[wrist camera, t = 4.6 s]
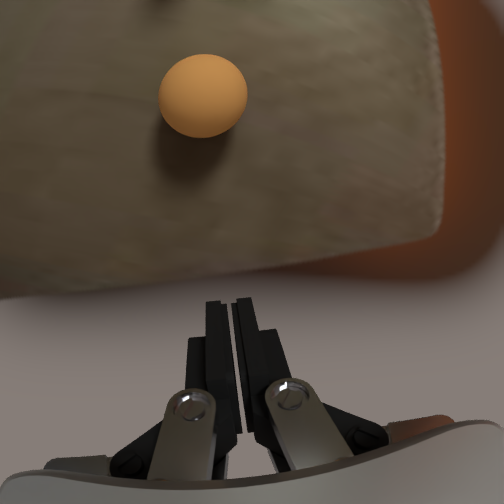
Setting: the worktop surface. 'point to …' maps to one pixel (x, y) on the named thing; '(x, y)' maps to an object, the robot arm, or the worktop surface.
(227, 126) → the ball
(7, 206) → the worktop surface
